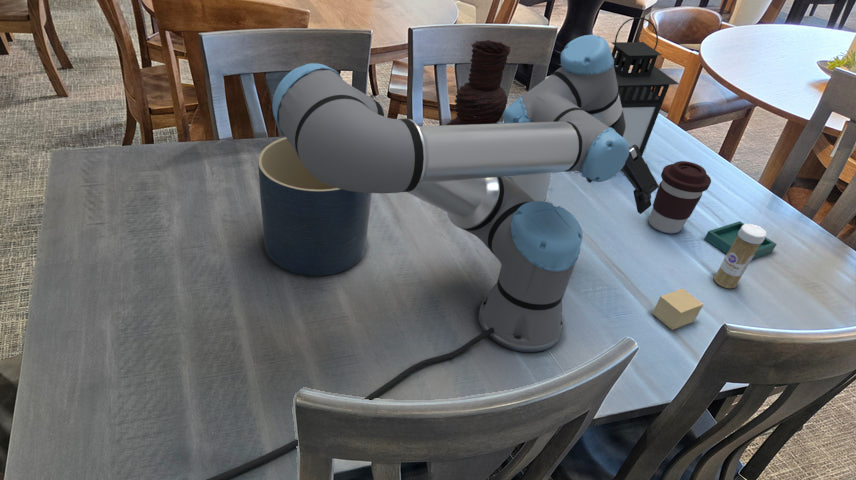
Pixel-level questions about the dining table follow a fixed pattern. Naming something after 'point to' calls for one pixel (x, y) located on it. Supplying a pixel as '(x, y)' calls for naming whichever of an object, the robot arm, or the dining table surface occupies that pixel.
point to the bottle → (534, 184)
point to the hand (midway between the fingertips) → (618, 193)
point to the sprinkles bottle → (740, 255)
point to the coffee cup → (678, 195)
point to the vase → (483, 86)
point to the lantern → (639, 88)
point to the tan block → (677, 309)
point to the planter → (308, 216)
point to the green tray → (727, 236)
